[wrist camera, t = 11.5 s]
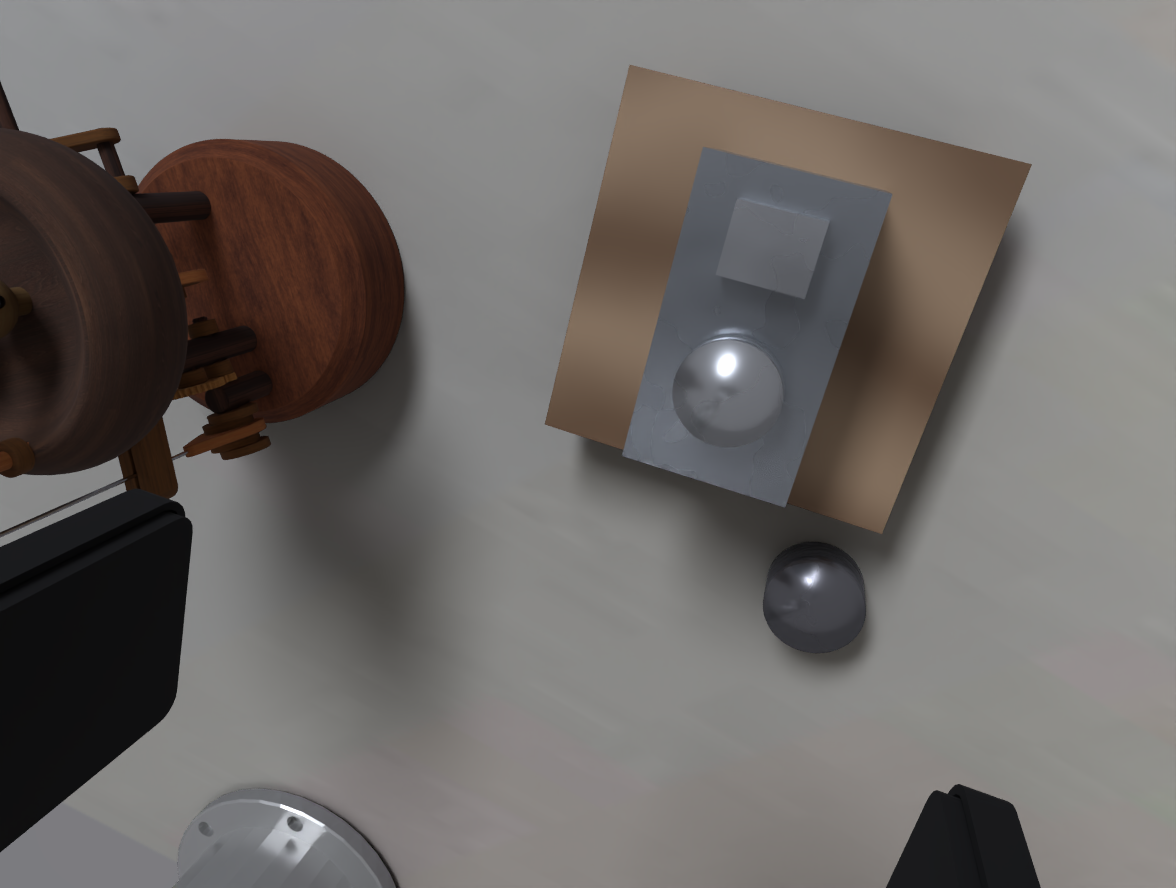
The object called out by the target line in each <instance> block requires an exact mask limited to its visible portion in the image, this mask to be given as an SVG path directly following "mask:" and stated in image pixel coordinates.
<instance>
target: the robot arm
mask: <svg viewBox="0 0 1176 888" xmlns="http://www.w3.org/2000/svg"><path fill="white" fill-rule="evenodd" d="M192 533H193V530H192V523H191V521H190V520H189V519H188V518H186V517H185V511H184V509H183V506H181V505H180V504H179V503H178V502H175V501H172V500H170V499H167V498H164V497H161V496H159V495H156V494H153V493H150V492H148V491H145V490H142V489H132V490H128V491H126V492H124V493H121V494H119V495H117V496H115V497H112V498H110V499H108V500H106V501H103V502H101V503H99V504H97V505H94V506H92V507H90V508H88V509H85V510H83V511H81V512H79V513H76V514H74V515H72V516H70V517H67V518H65V519H63V520H60V521H58V522H56V523H54V524H51V525H49V526H47V527H45V528H42V529H40V530H38V531H36V532H33V533H31V534H29V535H27V536H24V537H22V538H20V539H18V540H15V541H13V542H11V543H9V544H6V545H4V546H2V547H0V852H1V851H2V850H4V849H5V848H6V847H7V846H9V845H10V844H11V843H12V842H14V841H15V840H16V839H17V838H18V837H20V836H21V835H22V834H23V833H25V832H26V831H27V830H28V829H29V828H30V827H32V826H33V825H34V824H36V823H37V822H38V821H39V820H40V819H41V818H43V817H44V816H45V815H47V814H48V813H49V812H50V811H52V810H53V809H54V808H55V807H56V806H58V805H59V804H60V803H61V802H63V801H64V800H65V799H66V798H67V797H69V796H70V795H71V794H72V793H74V792H75V791H76V790H77V789H78V788H80V787H81V786H82V785H83V784H85V783H86V782H87V781H88V780H89V779H91V778H92V777H93V776H94V775H96V774H97V773H98V772H99V771H101V770H102V769H103V768H104V767H105V766H107V765H108V764H109V763H110V762H112V761H113V760H114V759H115V758H116V757H118V756H119V755H120V754H121V753H123V752H124V751H125V750H126V749H127V748H129V747H130V746H131V745H132V744H134V743H135V742H136V741H137V740H139V739H140V738H141V737H142V736H143V735H145V734H146V733H147V732H148V731H150V730H151V729H152V728H153V727H154V726H156V725H157V724H158V723H159V722H160V721H161V720H162V719H163V718H164V717H165V716H166V715H167V713H168V712H169V710H170V709H171V707H172V705H173V703H174V700H175V698H176V693H177V685H178V675H179V665H180V655H181V645H182V635H183V624H184V614H185V604H186V594H187V584H188V574H189V563H190V553H191V543H192ZM177 867H178V875H179V881H178V882H177V883H176V884H175V885H174V886H173V887H172V888H396V887H395V884H394V882H393V880H392V877H391V875H390V873H389V871H388V870H387V868H386V867H385V865H384V864H383V862H382V860H381V859H380V857H379V856H378V854H377V853H376V852H375V851H374V849H373V848H372V847H371V846H370V845H369V844H368V842H367V841H366V840H365V839H364V838H363V837H362V836H361V835H360V834H359V833H358V832H357V831H356V830H354V829H353V828H352V827H351V826H350V825H349V824H348V823H346V822H345V821H344V820H343V819H341V818H340V817H338V816H337V815H335V814H334V813H332V812H330V811H329V810H327V809H326V808H324V807H322V806H320V805H318V804H316V803H314V802H312V801H310V800H307V799H305V798H303V797H300V796H297V795H293V794H290V793H286V792H283V791H278V790H270V789H261V788H257V789H244V790H238V791H235V792H231V793H228V794H225V795H223V796H221V797H219V798H218V799H216V800H214V801H213V802H211V803H209V804H208V805H207V806H206V807H205V808H204V809H203V810H202V811H201V812H200V813H199V814H198V815H197V816H196V817H195V818H194V819H193V821H192V822H191V823H190V825H189V826H188V828H187V829H186V831H185V832H184V834H183V837H182V840H181V843H180V846H179V851H178V862H177ZM886 888H1041V887H1040V884H1039V881H1038V878H1037V875H1036V872H1035V868H1034V865H1033V862H1032V859H1031V856H1030V853H1029V850H1028V846H1027V843H1026V840H1025V837H1024V834H1023V831H1022V828H1021V824H1020V821H1019V818H1018V815H1017V812H1016V810H1015V808H1014V806H1013V804H1011V803H1010V802H1007V801H1005V800H1002V799H999V798H996V797H994V796H991V795H988V794H985V793H983V792H980V791H977V790H974V789H971V788H969V787H966V786H963V785H960V784H958V785H955V786H954V787H953V788H952V789H951V790H950V791H949V793H948V794H946V793H943V792H940V791H938V790H936V791H933V793H932V794H931V795H930V796H929V798H928V800H927V802H926V804H925V806H924V808H923V810H922V812H921V814H920V817H919V819H918V821H917V823H916V825H915V827H914V829H913V831H912V834H911V836H910V838H909V840H908V842H907V844H906V846H905V848H904V851H903V853H902V855H901V857H900V859H899V861H898V863H897V865H896V867H895V870H894V872H893V874H892V876H891V878H890V880H889V882H888V884H887V887H886Z"/></svg>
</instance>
